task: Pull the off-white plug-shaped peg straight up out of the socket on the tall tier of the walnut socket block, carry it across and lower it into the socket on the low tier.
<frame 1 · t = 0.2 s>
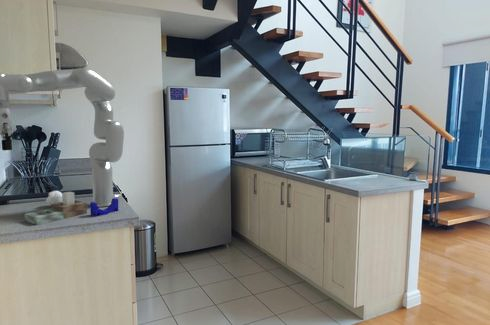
hand: (1, 149, 135), 31 cm above the countertop, tool pointing down, fingers open, 9 cm apart
peg: (69, 214, 157), resting in socket block
blue curved block: (105, 214, 159), on the countertop
socket block: (57, 216, 152), on the countertop
white round lump: (55, 206, 171), on the countertop
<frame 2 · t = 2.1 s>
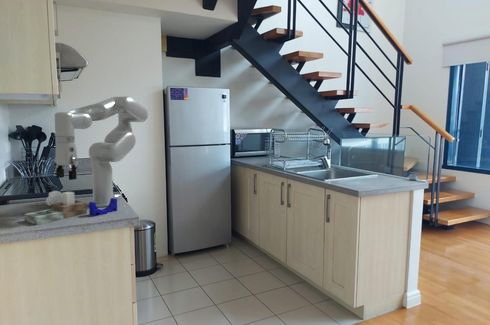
hand: (66, 178, 154), 17 cm above the countertop, tool pointing down, fingers open, 9 cm apart
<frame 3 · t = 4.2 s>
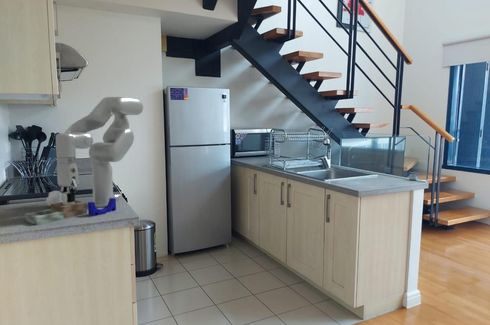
hand: (68, 200, 156), 6 cm above the countertop, tool pointing down, fingers closed on peg, 3 cm apart
peg: (69, 214, 157), resting in socket block, touching gripper
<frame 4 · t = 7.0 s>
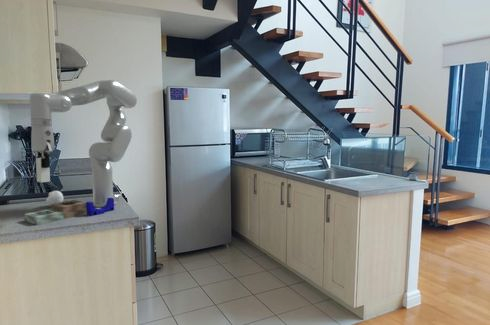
hand: (42, 166, 145), 23 cm above the countertop, tool pointing down, fingers closed on peg, 3 cm apart
peg: (43, 181, 146), point 17 cm above the countertop, touching gripper
blue curved block: (101, 213, 160), on the countertop
everything else where it was.
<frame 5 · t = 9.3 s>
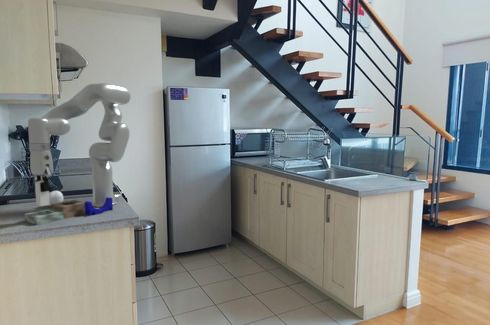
hand: (42, 190, 146), 13 cm above the countertop, tool pointing down, fingers closed on peg, 3 cm apart
peg: (42, 204, 146), point 7 cm above the countertop, touching gripper
when the fingers open (8 cm above the countertop, at t = 11.3 s): peg drops 1 cm, resting in socket block.
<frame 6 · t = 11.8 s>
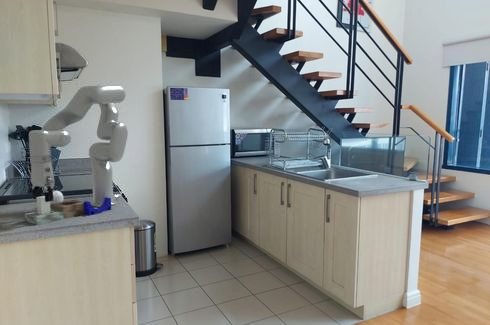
hand: (43, 199, 146), 9 cm above the countertop, tool pointing down, fingers open, 9 cm apart
peg: (44, 219, 147), resting in socket block
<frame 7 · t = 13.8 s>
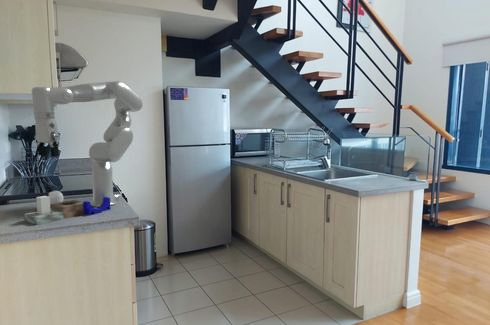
hand: (48, 155, 151), 27 cm above the countertop, tool pointing down, fingers open, 9 cm apart
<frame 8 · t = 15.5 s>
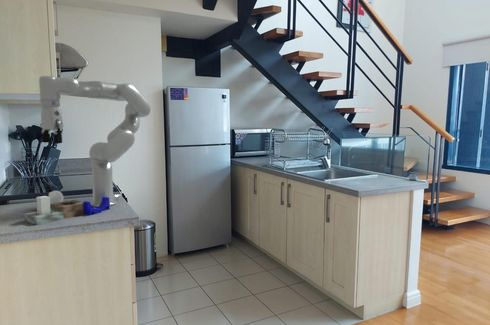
hand: (52, 142, 156), 32 cm above the countertop, tool pointing down, fingers open, 9 cm apart
at the end: peg 0.0 cm from the target spot on the socket block, point 0.0 cm above the socket block's base; peg tilted 0°; the gripper is holding nothing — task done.
